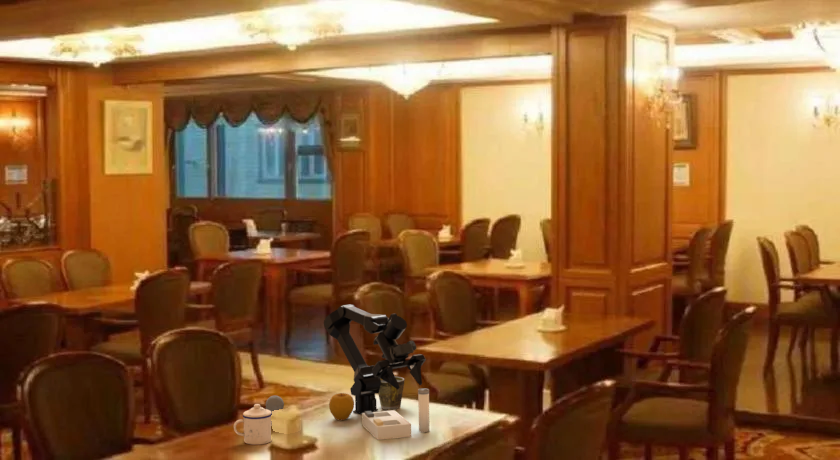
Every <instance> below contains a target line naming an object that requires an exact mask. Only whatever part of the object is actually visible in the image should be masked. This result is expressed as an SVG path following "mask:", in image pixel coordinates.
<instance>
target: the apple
mask: <svg viewBox="0 0 840 460" xmlns="http://www.w3.org/2000/svg"><path fill="white" fill-rule="evenodd" d="M328 405H329V411H330V413H331V415H332V416H333V417H334V419H335V420H336V421H345V420H347V419H348V418H349V417H350V415H351V414H352V413H353V411H354V408H355V399H354V397H353V395H351V394H348V393H345V392H343V393H342V392H341V393H336V394H334V395H332V396H331V398H330V400H329V404H328Z"/></svg>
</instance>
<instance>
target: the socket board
mask: <svg viewBox="0 0 840 460" xmlns="http://www.w3.org/2000/svg"><path fill="white" fill-rule="evenodd" d="M361 417H362V418H361V419H362V420H361V421H362V422H361V424H362V425H361V426H363V428H365V429H366V430H367V431H368V432H369V433H370V434H371V435H372V437H374V438H375V439H376V440H377V441H378V440H390V439H399V438H411V437H412V424H411V422H409V421H408V420H407V419H406V418H405V417H403V416H402V415H401V414H400V413H399V412H397V411H396V409H393V410H382V411H375V412H371V411H365V413H361Z"/></svg>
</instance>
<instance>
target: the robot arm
mask: <svg viewBox="0 0 840 460" xmlns="http://www.w3.org/2000/svg"><path fill="white" fill-rule="evenodd" d="M352 321H353V322H355V323H357V324H359V325H362V326H363V330H365V331H366V332H367V333H369V334H371V335H372V334H377V335H375V336H374V340H373V343H372V344H373V345H374V346H375V345H378V347H379V348H380V350H381V353H382V355H381V357H382V360H378V361H377V362H376V363H375V365H368V364H367V363H366V361H365V359H364V356H363V355H362V353H361V351H360V350H359V348H358V345H357V344H356V342H355V340H354V338H353V337H352V335H351V333H350V332H351V331H350V330H351V322H352ZM407 326H408V324H407V321H406V319H404V318H403V317H401V316H400V315H398V314H397V313H391V314H390V315H389V317H388V316H387V315H386V314H379V313H378V314H377V313H370V312H368V311H365V310H363V309H360V308H358V307H356V306H355V305H354V304H351V303H350V304H342V305H340V306H339V307H337V309H335V310H334V311H332V312H331V313H329V314H328V315H326V317H325V318H324V320H323V327H324V329H325V330H326V332H327V333H328V335H329V336H331V337H332V338H334V339H335V340H337V342H338V343H339V346H340V347H341V350H342V351H343V353H344V355H345V358H346V359H347V361H348V363H349V364H350V367H351V368H352V370H353V372H354V374H353V382H354V383H353V384H352V385H351V387H350V395H351V396H354V398H355V399H354V408H355V410H354V409H353V411H352V413H356V414H362V413H365V411H371V412H378V410H379V408H377V398H376V394H378V393H379V390H380V385H381V379H383V380H384V381H386V382H388V383H389V384H390V385H392V386H393V387H395V388H396V389H399V388H400V387H399V384H398V382H397V380H396V378H395V374H394V370H393V369H398V368H399V369H400V368H405V367H407V369H408V370H410V371H409V374H411V376H412V377H413V378H414V381H415V382H416V383H417V384H418V385H419V386H421V385H422V384H423V380H422V379H423V377H422V366H423V364H424V363H425V362H426V361H427V359H426V357H425V355H424V354H423V353H422V354H421V353H418V354H413V353H414V351H416V350H417V345H416V343H415V341H414V340H409V341H407V342H406V343H402V344H400V343H399V344H398V342H397V341H396V340H398V339H400V337H401V336H402V334H403V332H405V330H406V328H407ZM409 354H413V355H412V356H411V357H410V358H409ZM408 358H409V359H408ZM383 359H384V360H383ZM406 359H408V360H406ZM380 378H381V379H380Z"/></svg>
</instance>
